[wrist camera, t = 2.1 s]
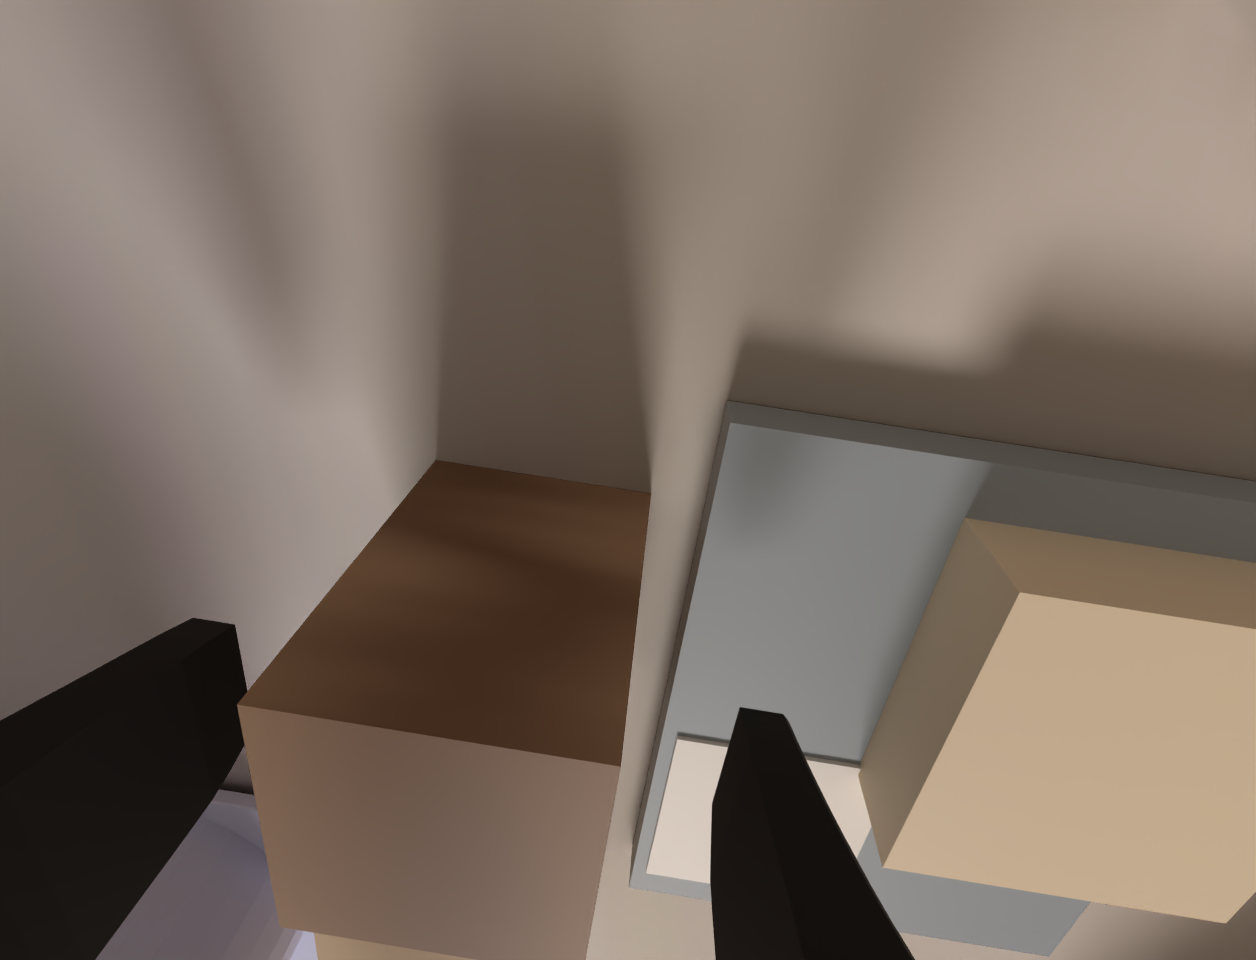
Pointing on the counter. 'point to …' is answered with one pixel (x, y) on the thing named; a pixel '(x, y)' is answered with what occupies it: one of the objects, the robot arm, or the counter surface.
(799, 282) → the counter surface
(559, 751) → the walnut block
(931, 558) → the plate
